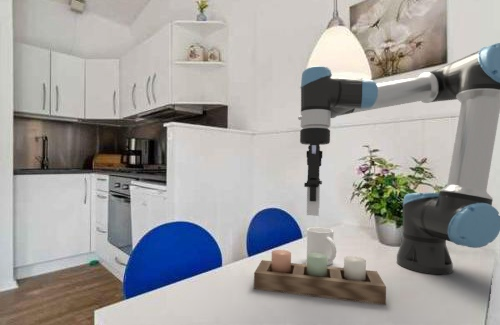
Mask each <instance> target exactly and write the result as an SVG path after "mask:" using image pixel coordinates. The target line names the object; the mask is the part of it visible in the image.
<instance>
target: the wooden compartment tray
mask: <svg viewBox="0 0 500 325" xmlns="http://www.w3.org/2000/svg"><path fill="white" fill-rule="evenodd" d="M271 262H272V260H264V259H263V260H261V261H260V263H259V264H258V265H257V267H256V269H255V271H254V272H253V276H254V277H253V289H254V290H259V291H265V292H267V291H268V292H275V293H276V292H277V293H284V294H291V295H293V294H294V295H299V296H302V295H303V296H311V297H318V298H326V299H332V300H333V299H334V300H343V301H349V302H360V303H367V304H376V305H383V306H384V305H385V306H386V305H387V286H386V284H385V282H384V280H382V278H381V276H380V274H379V273H378V270H367V269H366V280H365V281H355V280H348V279H346V278H345V277H344V267H337V266H336V267H335V266H327V276H325V277H317V276H310V275H308V274H307V263H305V264H304V263H297V262H296V263H294V262H291V271H290V272H289V273H279V272H273V271H272V270H271Z"/></svg>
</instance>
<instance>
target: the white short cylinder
mask: <svg viewBox="0 0 500 325" xmlns="http://www.w3.org/2000/svg"><path fill="white" fill-rule="evenodd" d="M343 268H344V277H345V278H346V279H348V280H355V281H365V280H366V270H367V260H366V259H365V258H363V257H360V256H353V255H348V256H344V257H343Z"/></svg>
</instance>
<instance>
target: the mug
mask: <svg viewBox="0 0 500 325" xmlns="http://www.w3.org/2000/svg"><path fill="white" fill-rule="evenodd" d="M306 231H307V232H306V255H307V254H309V253H320V254H324V255H326V256H327V266H330V265H332V264H333V263H334V260H335V258H336V256H337V247H336V244H335V242H334V230H333V229H331V228H328V227H318V226H315V227H314V226H313V227H308V228H307V229H306Z"/></svg>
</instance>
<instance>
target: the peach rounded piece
mask: <svg viewBox="0 0 500 325" xmlns="http://www.w3.org/2000/svg"><path fill="white" fill-rule="evenodd" d="M271 261H272V262H271V270H272V271H273V272H279V273H289V272H290V271H291V263H292V252H290V251H289V250H285V249H275V250H271Z"/></svg>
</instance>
